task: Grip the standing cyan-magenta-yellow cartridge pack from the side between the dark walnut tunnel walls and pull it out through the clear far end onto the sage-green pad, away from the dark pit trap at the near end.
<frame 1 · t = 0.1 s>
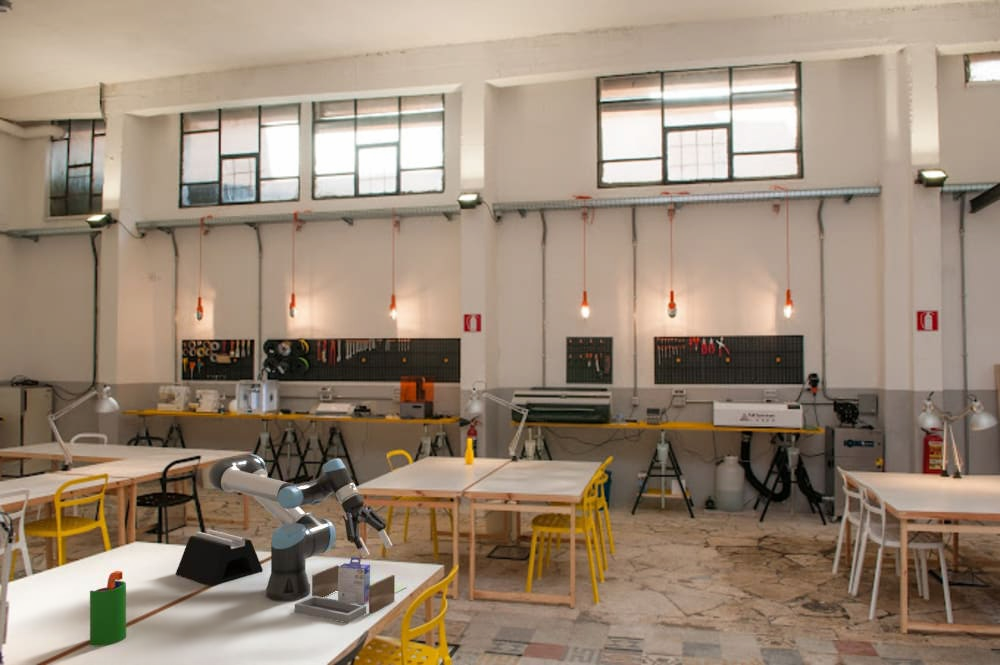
hand: (378, 551, 261), 15 cm above the table, tool tilted 35°, fingers open, 13 cm apart
green tool holder: (109, 639, 222), on the table
tunnel walls: (353, 601, 255), on the table
ink cartridge box: (354, 601, 255), on the table
device stand: (219, 574, 285), on the table
pit trap: (330, 612, 244), on the table
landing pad: (378, 589, 268), on the table
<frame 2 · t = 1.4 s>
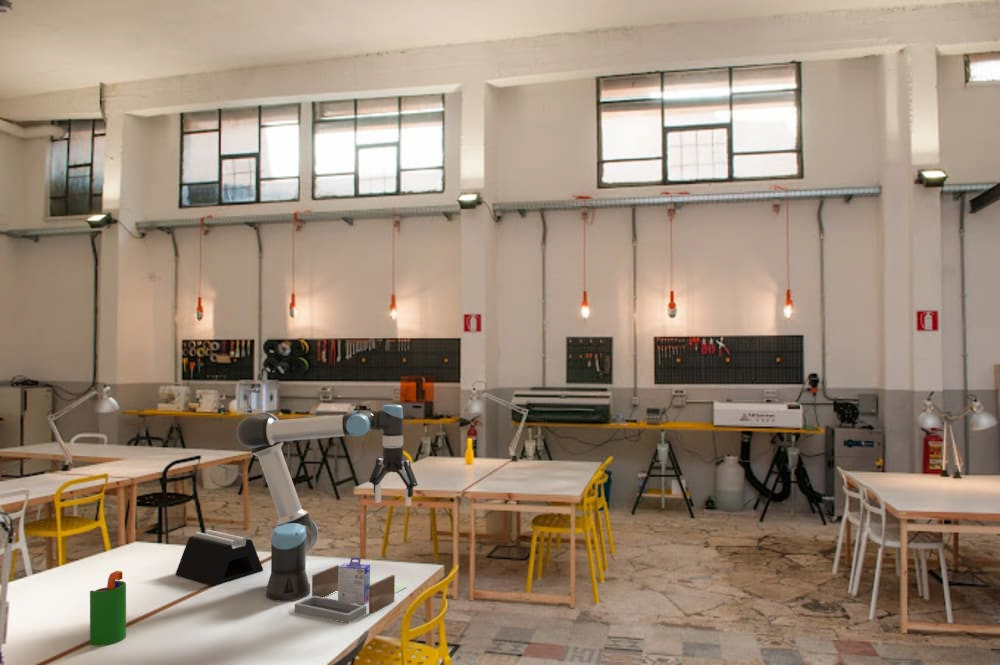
hand: (393, 504, 276), 29 cm above the table, tool pointing down, fingers open, 13 cm apart
nothing on the table moved.
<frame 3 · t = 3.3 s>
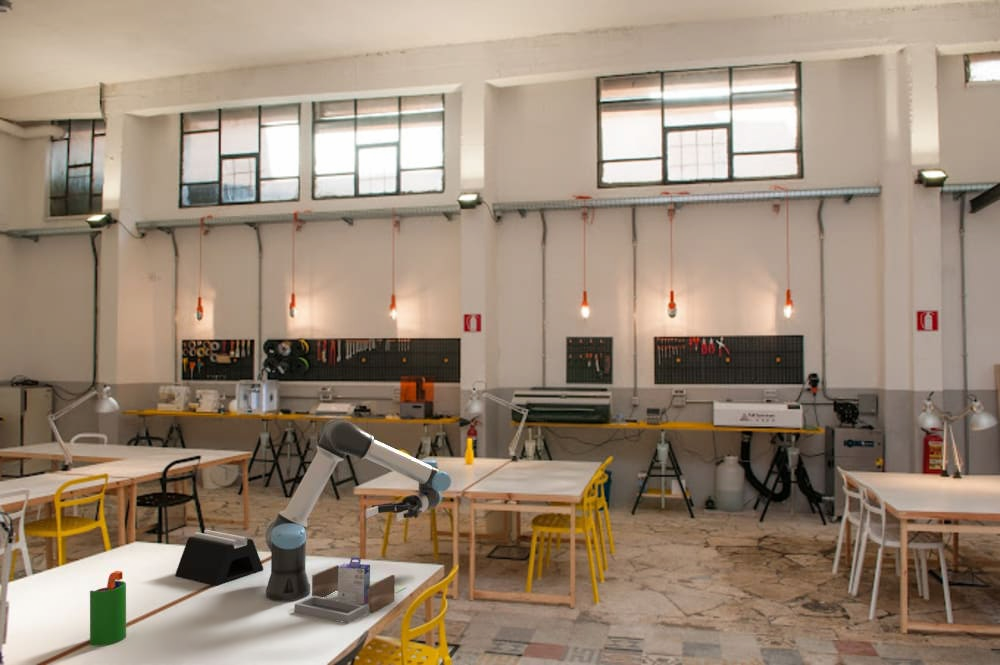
hand: (381, 515, 270), 26 cm above the table, tool horizontal, fingers open, 13 cm apart
nothing on the table moved.
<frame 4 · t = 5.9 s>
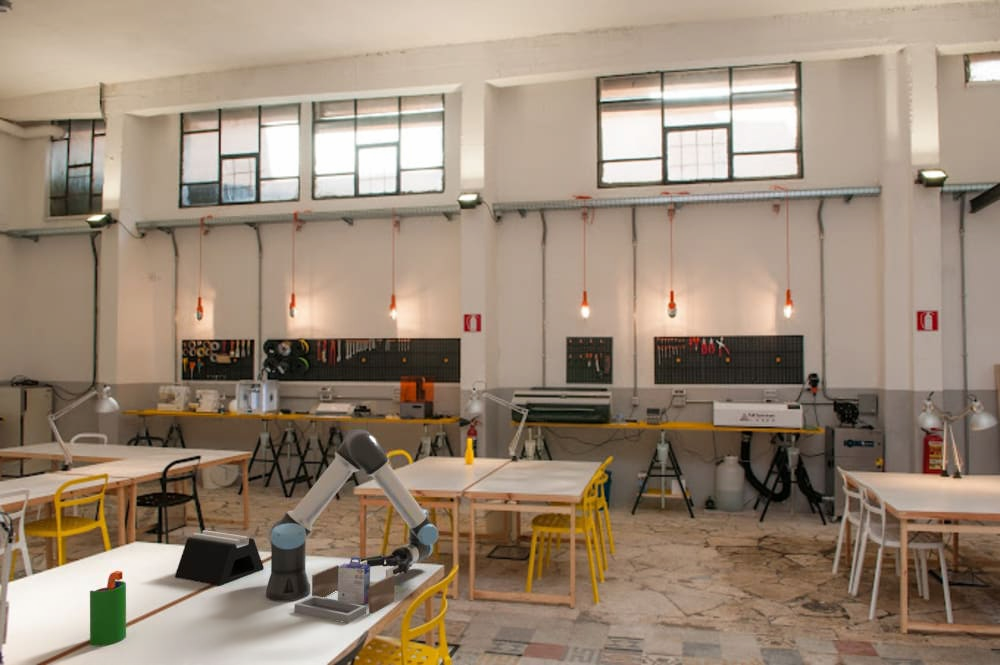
hand: (370, 571, 263), 8 cm above the table, tool horizontal, fingers open, 13 cm apart
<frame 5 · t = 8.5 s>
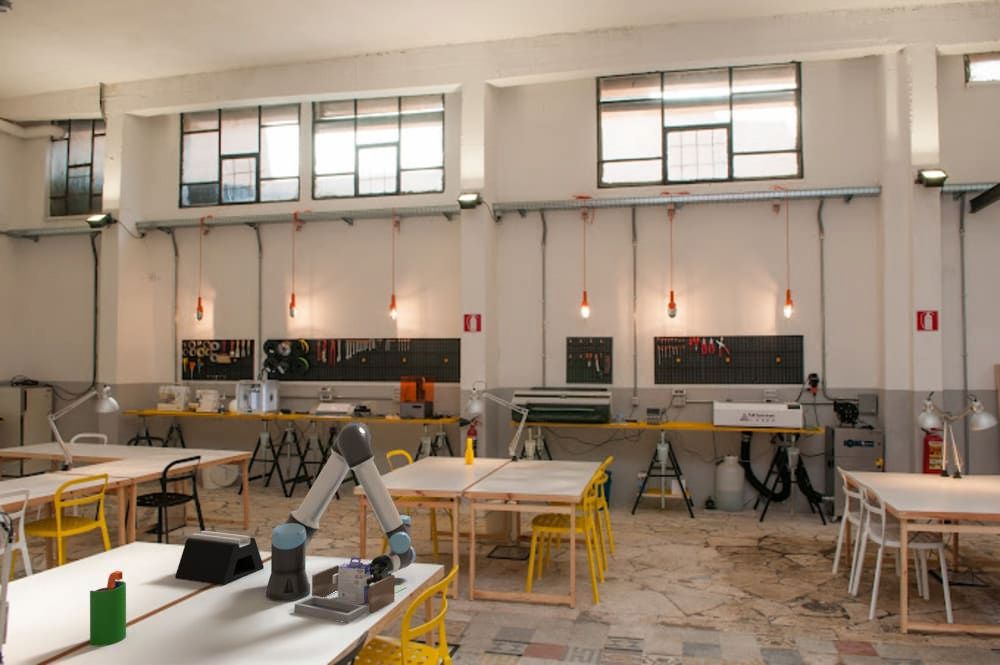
hand: (346, 581, 252), 8 cm above the table, tool horizontal, fingers closed on ink cartridge box, 10 cm apart
ink cartridge box: (354, 601, 255), on the table, touching gripper
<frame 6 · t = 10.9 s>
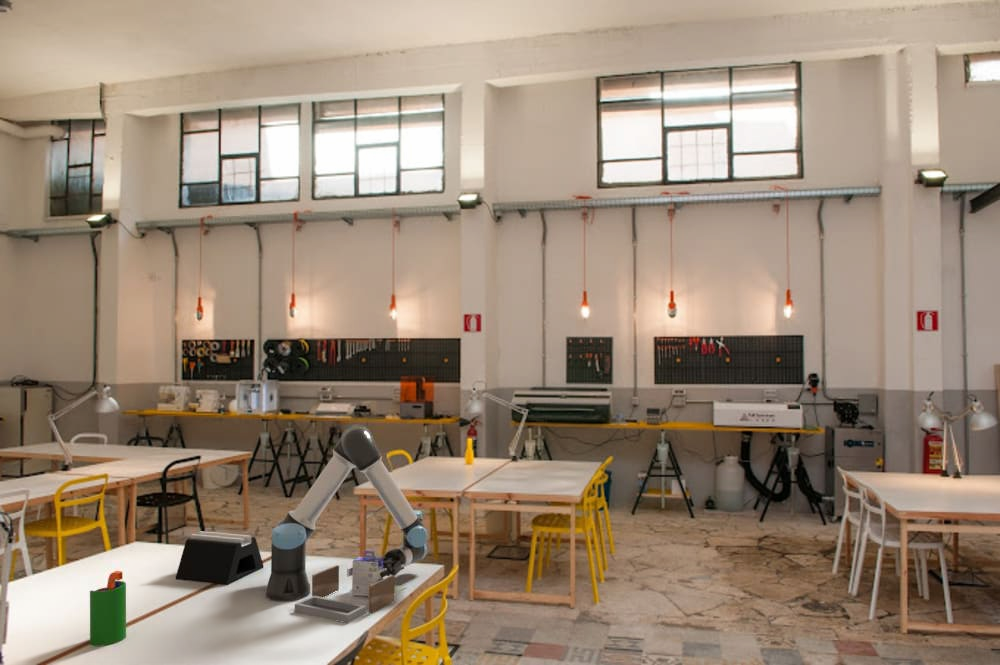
hand: (360, 574, 257), 8 cm above the table, tool horizontal, fingers closed on ink cartridge box, 10 cm apart
ink cartridge box: (367, 594, 261), on the table, touching gripper
when the fingers open (9 cm above the table, at t = 13.1 s): ink cartridge box drops 1 cm, resting on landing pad.
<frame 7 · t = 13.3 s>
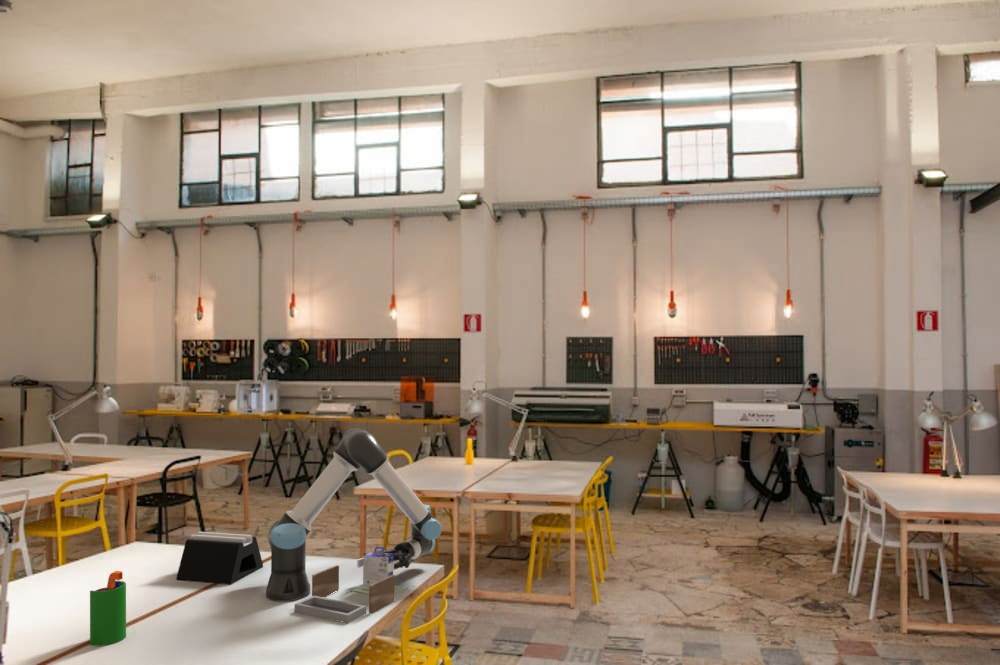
hand: (372, 566, 265), 9 cm above the table, tool horizontal, fingers open, 12 cm apart
ink cartridge box: (378, 588, 268), resting on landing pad
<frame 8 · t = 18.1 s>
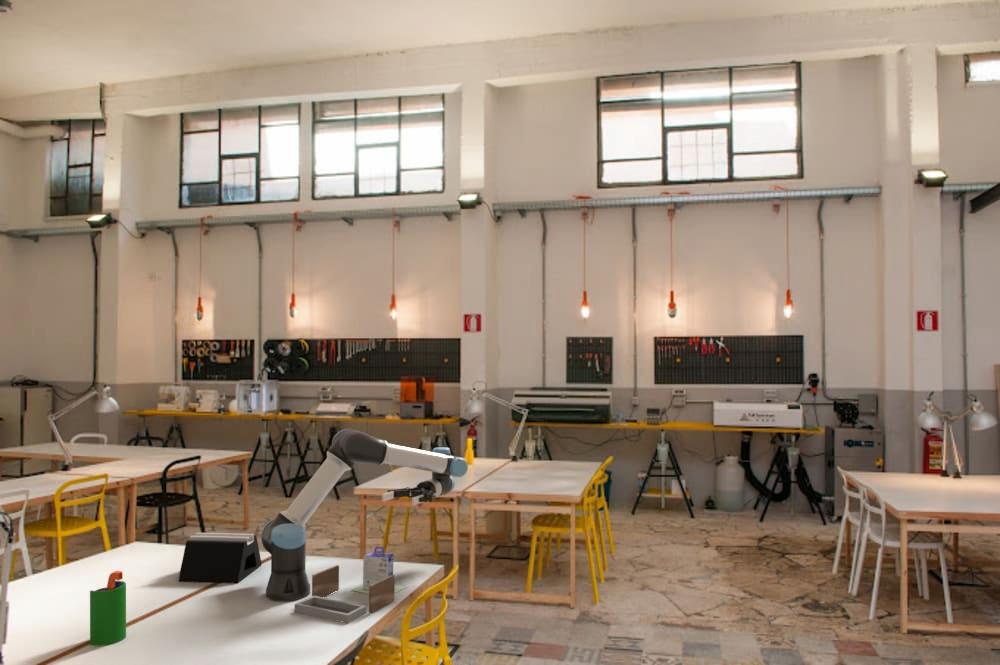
hand: (397, 499, 279), 30 cm above the table, tool horizontal, fingers open, 13 cm apart
at the end: ink cartridge box inside the target area (0.4 cm from its centre), resting on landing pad; ink cartridge box tilted 0°; the gripper is holding nothing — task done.
